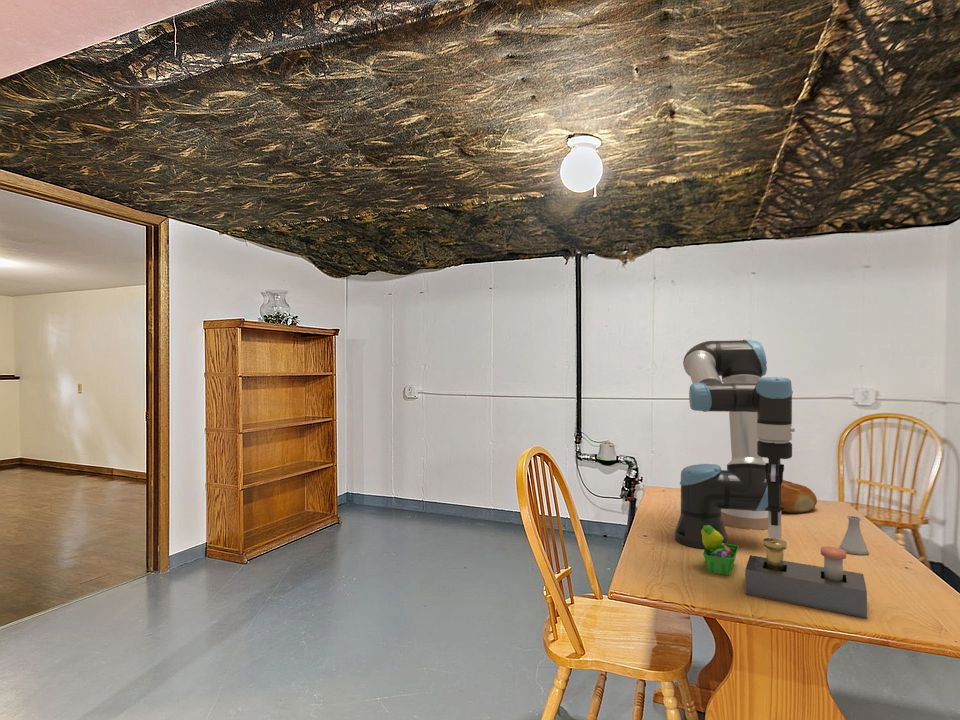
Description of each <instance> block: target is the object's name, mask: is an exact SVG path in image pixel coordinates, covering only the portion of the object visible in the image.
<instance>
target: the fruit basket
mask: <svg viewBox="0 0 960 720" xmlns="http://www.w3.org/2000/svg"><path fill="white" fill-rule="evenodd" d="M701 534H702V541H703V544H704V546H705V547H706V548H705V549H704V550H703V551H702V555H703V557H704V560H705V565H706V568H707V572H708V573H714V574H719V575H725V576H730V575H731V572H732V569H733V567H734V565H735V564H734V563H735V561H736V557H737V554H738V551H739V547H740V546H739V545H735V544H731V543H730V544H729V543H727V544H725V543H722V541H723V540H724V538H723V536H722V535H721V534H720V533H719V532H718V531H716V530H715V529H714V528H713V527H712V526H710V525H706V526H705V525H704V526H703V529H702V530H701Z"/></svg>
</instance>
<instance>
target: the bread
mask: <svg viewBox="0 0 960 720" xmlns="http://www.w3.org/2000/svg"><path fill="white" fill-rule="evenodd" d="M781 502H782V504H781V507H784V510H781V513H786V514H787V513H788V514H789V513H790V514H803V513H807V512H809V511H811V510H813V509H814V508H815V507H816V506H817V504H818V503H817V502H818V499H817V496H816V494H815V493H814V492H813V491H812V489H810V488H809V487H807V486H806V485H802V484H799V483H795V482H792V481H788V480H785V479H783V481H782V484H781Z"/></svg>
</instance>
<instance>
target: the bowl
mask: <svg viewBox="0 0 960 720" xmlns="http://www.w3.org/2000/svg"><path fill="white" fill-rule="evenodd" d="M721 519H722V522H723V525H726V526H730V527H732V528H733V527H734V528H735V529H736V528H737V529H744V530H750V529H752V530H755V531H760V530H768V511H749V510H734V509H721Z"/></svg>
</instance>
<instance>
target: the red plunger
mask: <svg viewBox="0 0 960 720" xmlns="http://www.w3.org/2000/svg"><path fill="white" fill-rule="evenodd" d="M820 555H821V556H822V557H823V560H824V561H823V563H824V579H827V580H833V581H839V582H843V571H844V570H843V569H844V567H843V566H844V563H843V562H844V561H843V560H845V559H847V552H846V551H845V550H843V549H840V547H836V546H827V545H826V546H821V547H820Z"/></svg>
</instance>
